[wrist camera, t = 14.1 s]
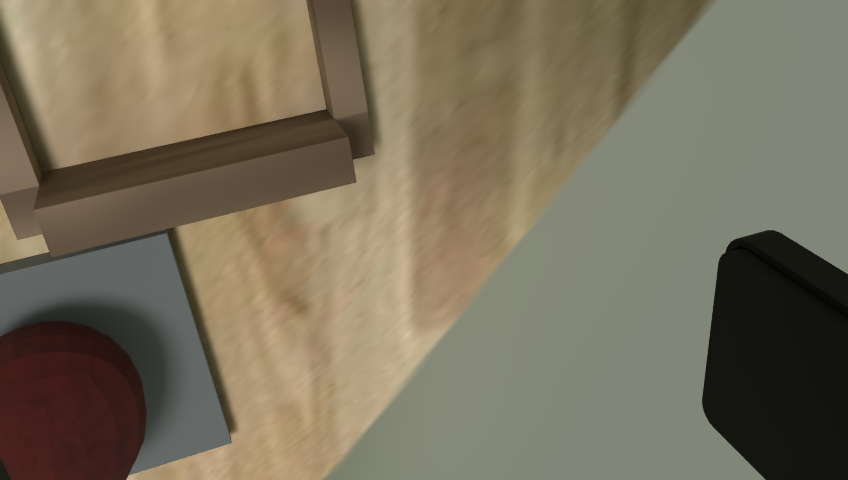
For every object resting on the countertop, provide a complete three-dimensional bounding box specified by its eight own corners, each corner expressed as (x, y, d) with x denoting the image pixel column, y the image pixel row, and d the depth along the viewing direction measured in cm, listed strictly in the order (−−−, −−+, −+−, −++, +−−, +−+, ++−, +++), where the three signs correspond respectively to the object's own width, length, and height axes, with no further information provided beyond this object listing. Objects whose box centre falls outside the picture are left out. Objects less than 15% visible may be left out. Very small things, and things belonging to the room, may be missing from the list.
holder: (-144, -180, 26) (-184, -185, 22) (303, -233, 29) (327, -245, 26) (21, 225, 33) (9, 267, 30) (365, 143, 36) (390, 173, 33)
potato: (158, 302, 35) (164, 378, 30) (130, 463, 38) (132, 557, 33) (-33, 286, 32) (-63, 368, 27) (-47, 463, 35) (-76, 567, 30)
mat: (-135, 297, 32) (-142, 309, 31) (165, 223, 35) (166, 233, 34) (-21, 508, 38) (-25, 523, 37) (229, 430, 41) (231, 442, 40)
